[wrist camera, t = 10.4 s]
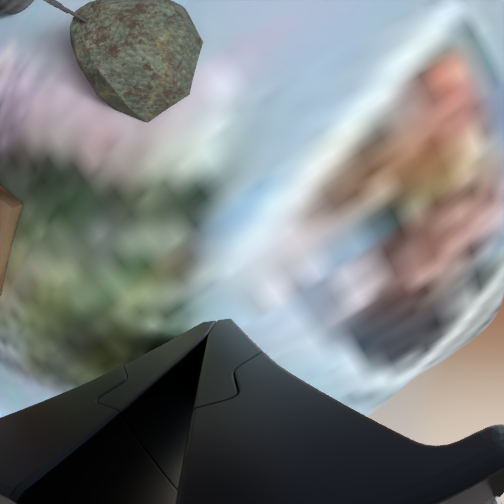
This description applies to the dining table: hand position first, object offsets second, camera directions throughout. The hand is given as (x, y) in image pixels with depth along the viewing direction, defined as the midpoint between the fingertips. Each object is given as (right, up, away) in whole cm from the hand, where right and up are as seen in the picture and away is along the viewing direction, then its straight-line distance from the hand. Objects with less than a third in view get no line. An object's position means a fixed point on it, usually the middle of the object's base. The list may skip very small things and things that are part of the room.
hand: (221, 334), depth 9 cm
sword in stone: (-6, +16, +8) cm, 18 cm away
